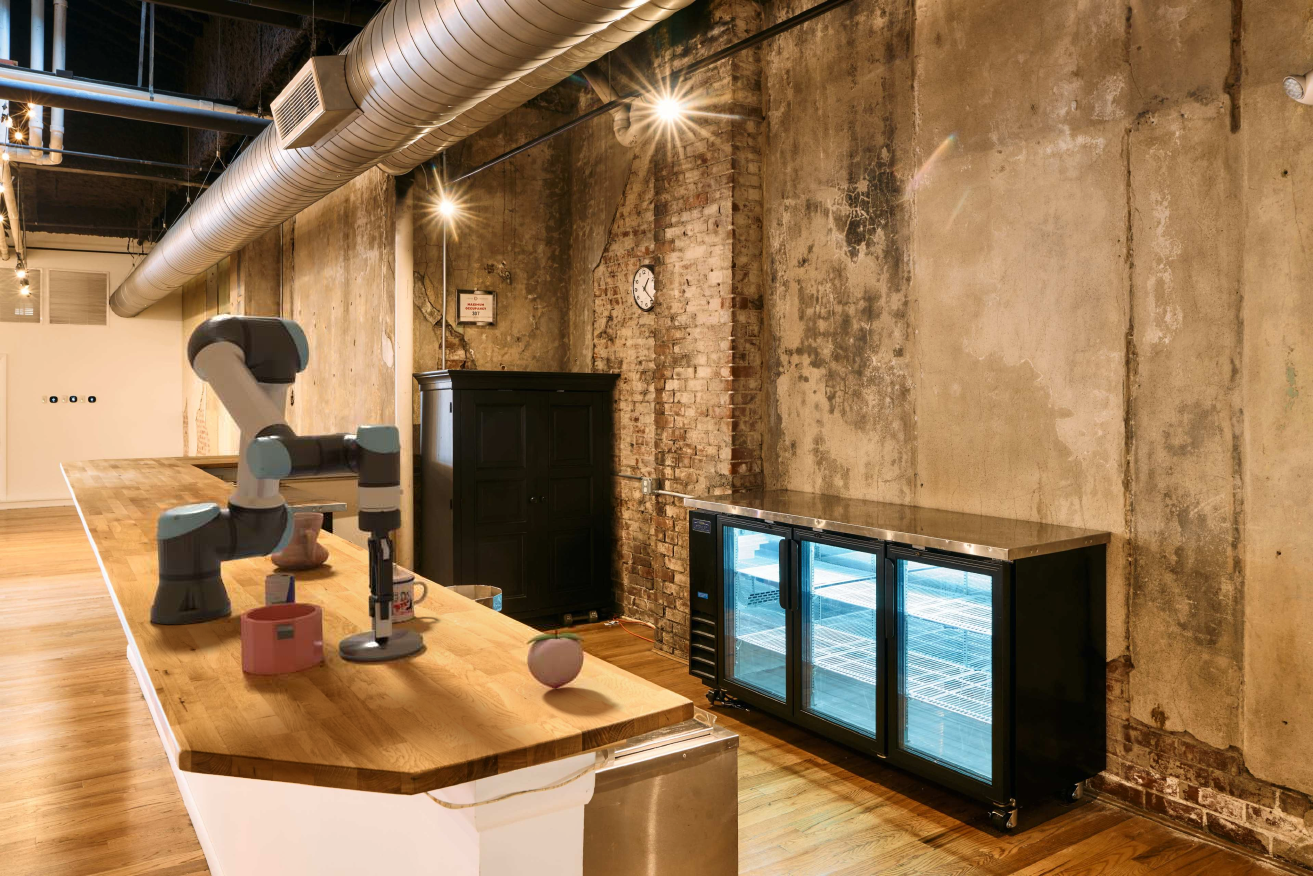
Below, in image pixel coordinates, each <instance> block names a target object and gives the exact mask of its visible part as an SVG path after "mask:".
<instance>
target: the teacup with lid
mask: <svg viewBox="0 0 1313 876" xmlns="http://www.w3.org/2000/svg"><path fill="white" fill-rule="evenodd" d="M415 579H416V577H415V575H414V573H412V572H410V571H407V570H405V569H403V568H402V567H398V563H395V562H393V595H394V598H393V601H394V614H393V615H392V624H395V623H394V622H399V623H403V622H402V621H404V622H407V621H409V620H411V619H413V618H414V616H415V606H416V605H419V604H421V603H423V602H424V601H425V600H426V598H427V596H428V592H429V587H428V585H427V583H425V582H424V581H422V580H415ZM416 585H417V586H418V585H420V586H423V587H422V588H423V593H422V595H421V597H420V598H419V599H416V600H415V586H416Z"/></svg>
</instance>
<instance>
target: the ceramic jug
mask: <svg viewBox="0 0 1313 876" xmlns="http://www.w3.org/2000/svg"><path fill="white" fill-rule="evenodd" d="M292 518H293V519H294V531H293V535H292V538H291V541H290V543H289V544H288V546H287V547H286V548H285V549H283V551H281V552H279V553H275V554H270V559H271V563H272V564H273V565H274V566H276V567H278V568H281V569H284V570H307V569H311V568H312V569H313V568H315V567H318V566H322V565H323V564H324V563H326V562H327V560H328V558H329V556H330V553H329V550H328V549H327V548H326V547H325V546H324V545H322V544H320V543H319V542H318V541H317V539H318V537H319V535H320V533H321V530H322V525H323V522H324V514H323V513H321V512H320V513H319V512H295V513H293V517H292Z"/></svg>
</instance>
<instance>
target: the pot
mask: <svg viewBox="0 0 1313 876" xmlns="http://www.w3.org/2000/svg"><path fill="white" fill-rule="evenodd" d="M240 638H241V640H240V642H241V643H240V644H241V647H240V648H241V649H240V650H241V668H242V669H241V670H243V672H245V671H246V673H249V674H253V675H265V674H266V675H271V676H272V675H273V676H274V675H281V674H282V673H283V674H288V673H295V672H296V671H297V672H300V671H303V670H306V669H310V668H312V666H313V667H315V666H317V665H318V664H319V663H321V662H322V661H324V647H323V646H324V640H323V639H324V638H323V610H322V607H321V605H318V604H313V603H308V602H295V603H286V601H278V602H271V605H267V606H266V605H264V606H258V607H254V608H251V609H248V610H247V611H245V612H242V613H240ZM320 661H321V662H320ZM317 663H318V664H317ZM309 667H310V668H309ZM305 668H306V669H305ZM302 669H303V670H302ZM299 670H300V671H299ZM297 672H296V673H297Z"/></svg>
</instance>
